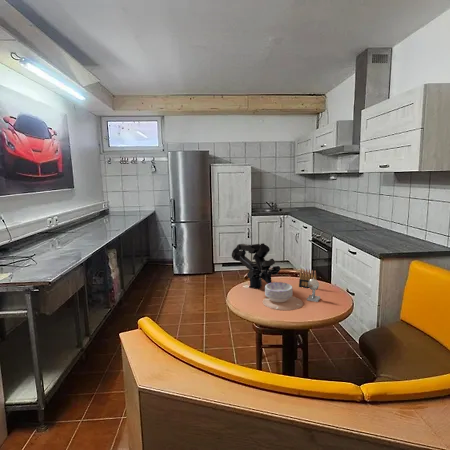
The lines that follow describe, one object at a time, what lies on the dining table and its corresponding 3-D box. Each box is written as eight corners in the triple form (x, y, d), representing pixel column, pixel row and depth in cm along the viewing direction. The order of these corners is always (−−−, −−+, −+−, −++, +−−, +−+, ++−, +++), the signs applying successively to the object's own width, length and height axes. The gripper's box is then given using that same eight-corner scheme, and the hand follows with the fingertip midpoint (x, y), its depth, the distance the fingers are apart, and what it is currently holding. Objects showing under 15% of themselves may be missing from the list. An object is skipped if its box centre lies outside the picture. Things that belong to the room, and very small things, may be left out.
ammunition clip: (298, 287, 208) (299, 268, 206) (299, 286, 209) (300, 267, 208) (315, 289, 202) (316, 270, 201) (316, 288, 204) (317, 269, 202)
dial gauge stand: (306, 300, 185) (307, 279, 183) (309, 296, 190) (310, 276, 189) (317, 301, 182) (318, 280, 181) (320, 298, 188) (320, 277, 186)
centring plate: (256, 305, 178) (256, 305, 178) (270, 293, 197) (271, 292, 197) (296, 313, 168) (296, 312, 168) (307, 299, 187) (307, 298, 187)
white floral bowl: (271, 306, 177) (271, 291, 176) (260, 296, 191) (260, 283, 190) (297, 303, 181) (297, 289, 180) (285, 293, 195) (285, 280, 194)
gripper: (251, 256, 191) (261, 279, 183) (279, 252, 199) (289, 275, 191) (245, 266, 200) (254, 289, 191) (271, 262, 207) (281, 284, 199)
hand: (270, 284), depth 193 cm, fingers closed
